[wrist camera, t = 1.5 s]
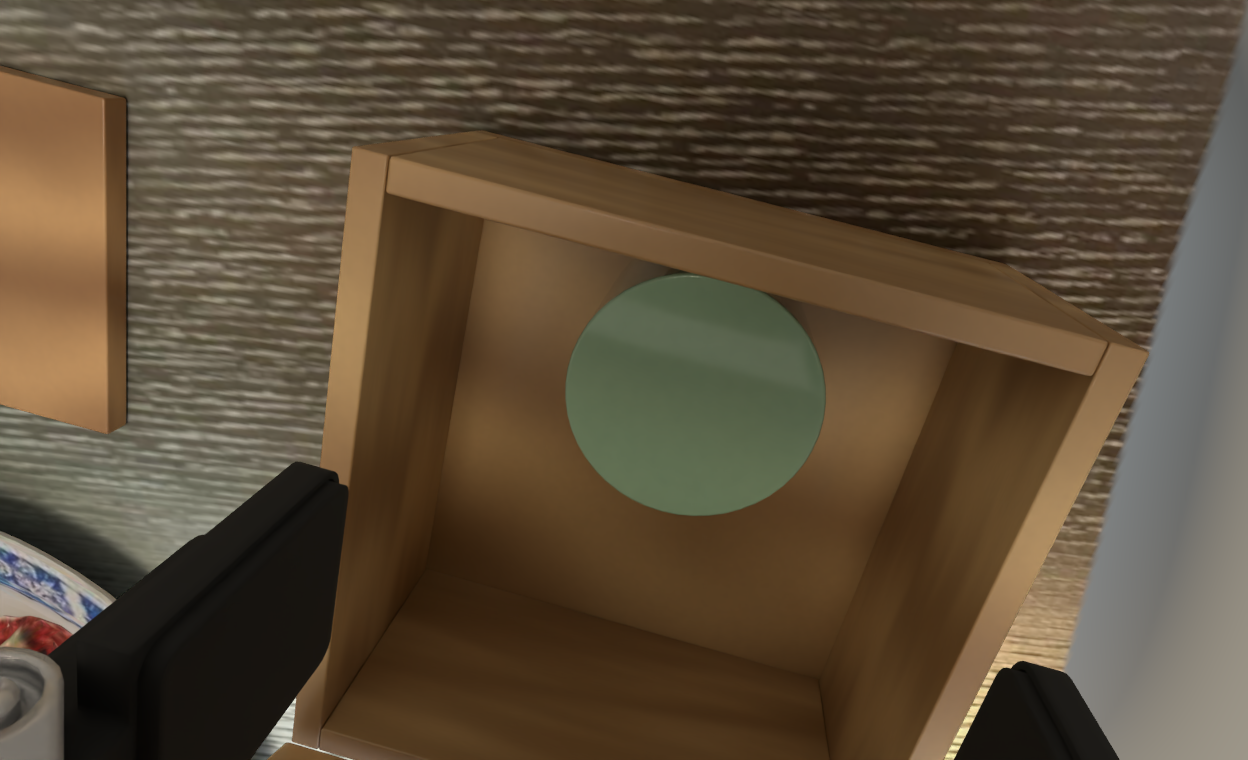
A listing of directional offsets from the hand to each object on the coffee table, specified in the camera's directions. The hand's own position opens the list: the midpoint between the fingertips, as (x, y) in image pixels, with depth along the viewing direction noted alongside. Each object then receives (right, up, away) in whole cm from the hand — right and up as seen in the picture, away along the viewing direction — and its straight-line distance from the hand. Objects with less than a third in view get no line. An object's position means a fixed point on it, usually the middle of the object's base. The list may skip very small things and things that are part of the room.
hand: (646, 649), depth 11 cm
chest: (+1, +2, +16) cm, 16 cm away
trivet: (-24, +9, +17) cm, 31 cm away
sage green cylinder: (+2, +5, +14) cm, 15 cm away
